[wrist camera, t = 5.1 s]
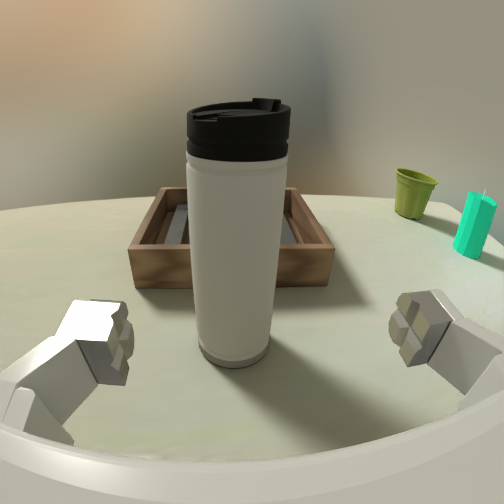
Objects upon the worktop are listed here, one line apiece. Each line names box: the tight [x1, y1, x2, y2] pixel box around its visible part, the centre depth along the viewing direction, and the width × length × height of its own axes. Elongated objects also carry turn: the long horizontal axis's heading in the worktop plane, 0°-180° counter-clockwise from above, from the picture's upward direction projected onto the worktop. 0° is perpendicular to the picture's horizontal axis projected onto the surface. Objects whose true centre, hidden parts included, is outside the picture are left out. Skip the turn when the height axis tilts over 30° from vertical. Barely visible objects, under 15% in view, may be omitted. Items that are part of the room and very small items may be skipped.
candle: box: [453, 189, 497, 259], centre depth 41 cm, size 6×6×12 cm
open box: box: [128, 187, 335, 288], centre depth 41 cm, size 22×20×5 cm
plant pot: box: [395, 168, 438, 220], centre depth 54 cm, size 9×9×9 cm
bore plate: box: [164, 203, 297, 244], centre depth 41 cm, size 16×16×2 cm
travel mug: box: [186, 98, 291, 368], centre depth 21 cm, size 6×7×20 cm
